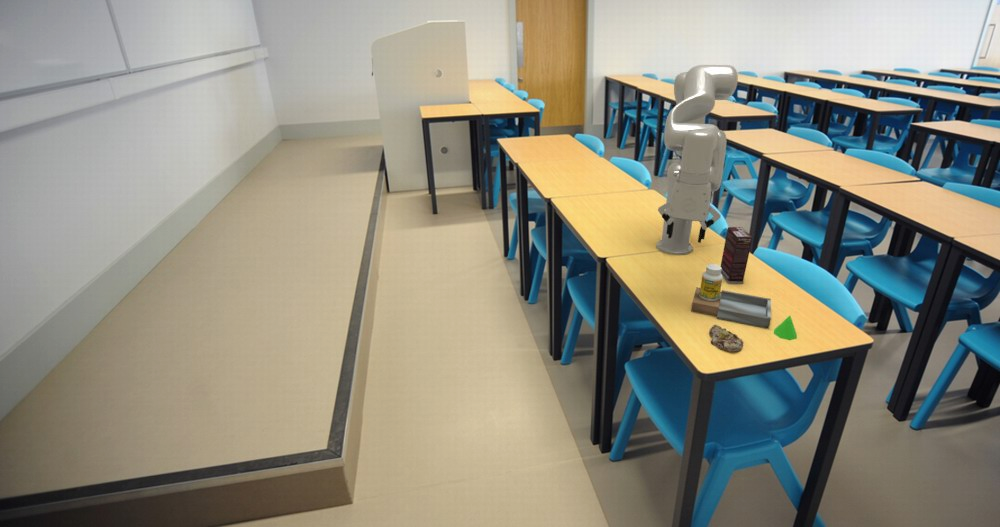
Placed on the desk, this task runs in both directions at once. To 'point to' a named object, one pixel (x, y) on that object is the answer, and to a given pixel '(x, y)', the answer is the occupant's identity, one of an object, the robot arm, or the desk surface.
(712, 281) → the supplement bottle
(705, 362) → the desk surface
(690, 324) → the desk surface
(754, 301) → the tray
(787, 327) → the gemstone
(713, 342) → the mineral rock
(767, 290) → the desk surface
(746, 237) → the supplement box
